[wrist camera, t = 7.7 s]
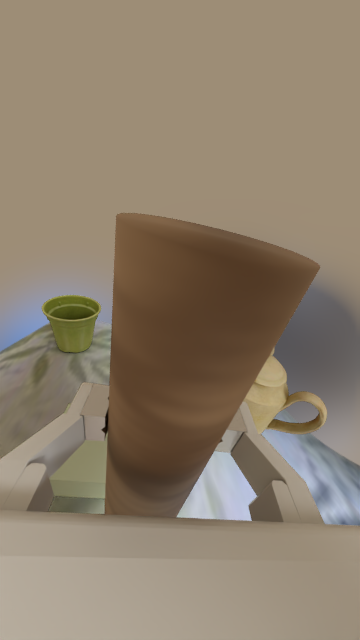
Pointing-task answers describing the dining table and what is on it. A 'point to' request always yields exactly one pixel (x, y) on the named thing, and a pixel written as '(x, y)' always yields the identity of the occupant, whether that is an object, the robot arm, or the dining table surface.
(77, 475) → the block
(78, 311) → the plant pot
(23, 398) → the dining table surface
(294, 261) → the brown wooden cylinder
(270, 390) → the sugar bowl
